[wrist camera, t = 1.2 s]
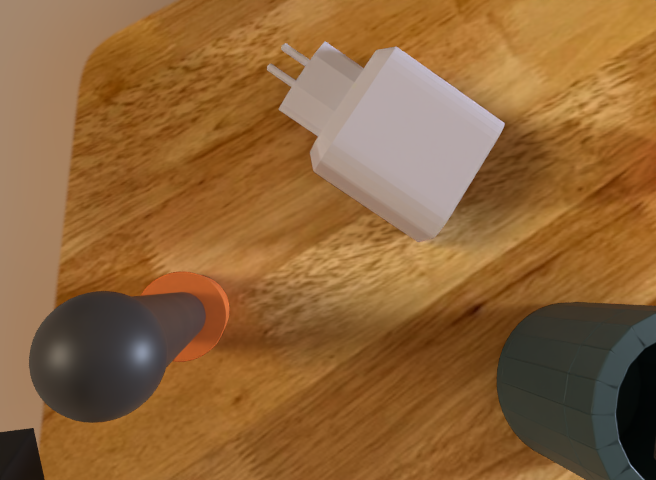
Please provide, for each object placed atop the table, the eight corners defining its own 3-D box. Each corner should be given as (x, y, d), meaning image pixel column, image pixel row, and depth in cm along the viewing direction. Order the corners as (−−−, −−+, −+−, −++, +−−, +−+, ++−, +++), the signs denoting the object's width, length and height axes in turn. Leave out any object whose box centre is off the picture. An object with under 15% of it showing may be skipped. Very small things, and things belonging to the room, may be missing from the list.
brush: (139, 309, 36) (-96, 361, 11) (195, 259, 37) (95, 203, 12) (189, 362, 36) (71, 534, 11) (244, 312, 37) (247, 366, 12)
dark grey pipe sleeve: (465, 379, 39) (550, 414, 28) (569, 270, 41) (686, 265, 30) (569, 493, 40) (692, 571, 29) (667, 381, 41) (817, 415, 31)
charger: (308, 19, 40) (479, 138, 41) (236, 123, 38) (415, 243, 39) (317, -17, 35) (510, 120, 36) (235, 100, 33) (438, 237, 35)
